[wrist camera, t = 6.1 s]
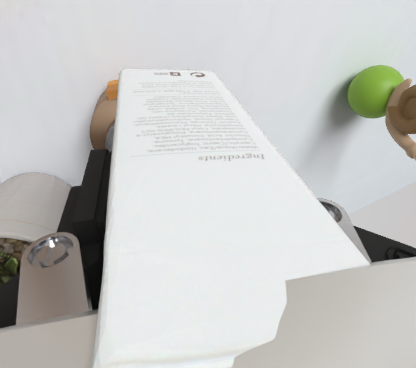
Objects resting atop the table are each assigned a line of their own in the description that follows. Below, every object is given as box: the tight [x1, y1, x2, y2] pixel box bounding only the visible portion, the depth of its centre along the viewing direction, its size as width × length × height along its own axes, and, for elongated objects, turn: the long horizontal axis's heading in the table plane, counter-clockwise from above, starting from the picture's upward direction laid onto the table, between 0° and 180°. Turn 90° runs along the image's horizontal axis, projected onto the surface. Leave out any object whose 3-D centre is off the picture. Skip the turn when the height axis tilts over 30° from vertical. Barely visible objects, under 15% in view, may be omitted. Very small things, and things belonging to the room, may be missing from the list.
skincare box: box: [90, 69, 370, 368], centre depth 10 cm, size 6×4×12 cm
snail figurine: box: [347, 65, 416, 160], centre depth 30 cm, size 5×6×12 cm
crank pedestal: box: [90, 79, 119, 149], centre depth 30 cm, size 9×8×4 cm
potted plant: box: [0, 173, 71, 286], centre depth 27 cm, size 13×14×20 cm
